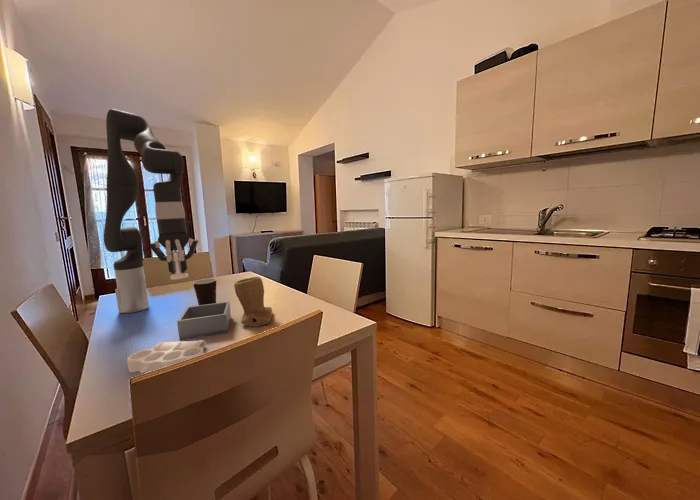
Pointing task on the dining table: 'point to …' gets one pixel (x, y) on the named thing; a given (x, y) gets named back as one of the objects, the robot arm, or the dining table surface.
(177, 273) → the chess piece
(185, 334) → the bin
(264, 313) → the tan upright curved piece
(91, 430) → the dining table surface
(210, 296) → the coffee mug
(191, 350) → the white muffin tray
